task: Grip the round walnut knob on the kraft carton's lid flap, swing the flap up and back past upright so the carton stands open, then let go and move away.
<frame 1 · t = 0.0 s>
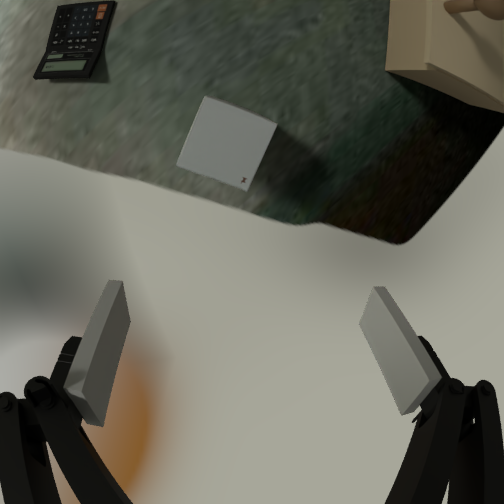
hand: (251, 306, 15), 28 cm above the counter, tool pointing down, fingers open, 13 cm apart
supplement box: (226, 129, 37), on the counter
carton: (436, 40, 30), on the counter
calculator: (77, 40, 27), on the counter
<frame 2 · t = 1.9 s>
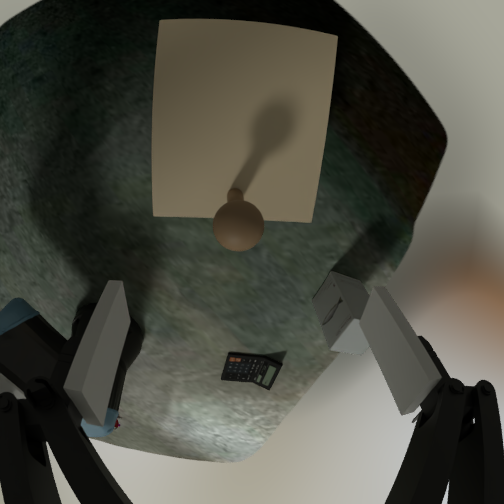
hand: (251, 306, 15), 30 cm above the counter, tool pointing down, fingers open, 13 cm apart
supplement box: (335, 289, 54), on the counter
calculator: (250, 366, 64), on the counter
flap: (243, 124, 22), point 17 cm above the counter, hinge at 0.0°
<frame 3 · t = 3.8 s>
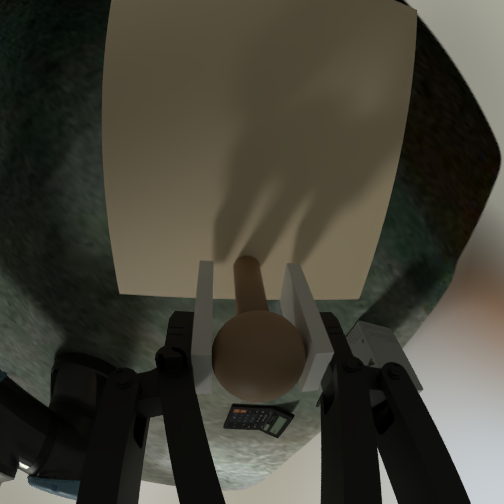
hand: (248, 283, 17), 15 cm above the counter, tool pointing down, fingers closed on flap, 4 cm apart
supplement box: (361, 339, 43), on the counter
calculator: (256, 415, 52), on the counter
flap: (270, 158, 11), point 17 cm above the counter, hinge at 0.0°, touching gripper
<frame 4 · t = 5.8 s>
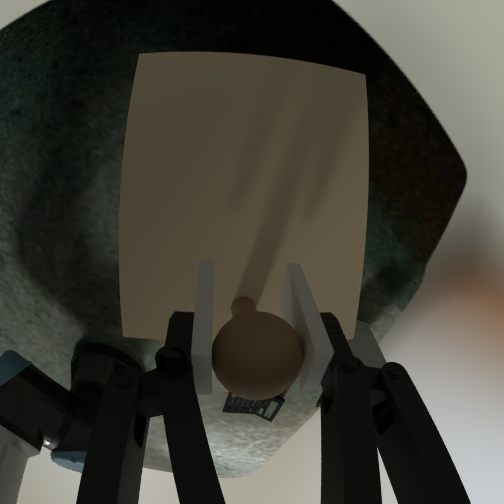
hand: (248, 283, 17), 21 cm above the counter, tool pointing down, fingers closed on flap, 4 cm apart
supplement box: (341, 331, 51), on the counter
calculator: (252, 400, 61), on the counter
flap: (257, 186, 15), point 21 cm above the counter, hinge at 23.3°, touching gripper
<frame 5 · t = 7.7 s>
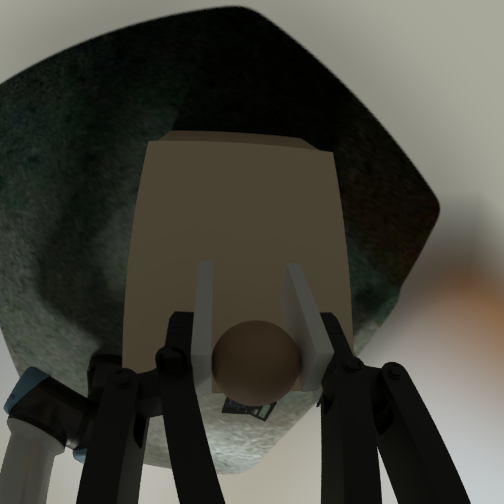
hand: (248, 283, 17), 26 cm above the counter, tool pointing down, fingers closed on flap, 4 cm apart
carton: (231, 197, 41), on the counter
calculator: (247, 402, 68), on the counter
flap: (247, 232, 18), point 23 cm above the counter, hinge at 48.3°, touching gripper
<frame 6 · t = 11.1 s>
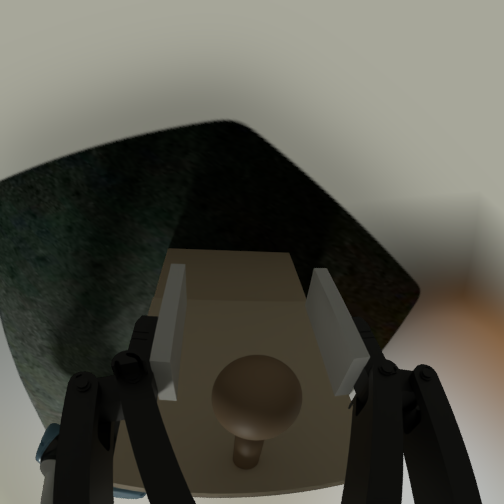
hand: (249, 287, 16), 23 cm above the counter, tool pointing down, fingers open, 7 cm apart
carton: (226, 301, 46), on the counter
flap: (241, 336, 20), point 22 cm above the counter, hinge at 94.0°
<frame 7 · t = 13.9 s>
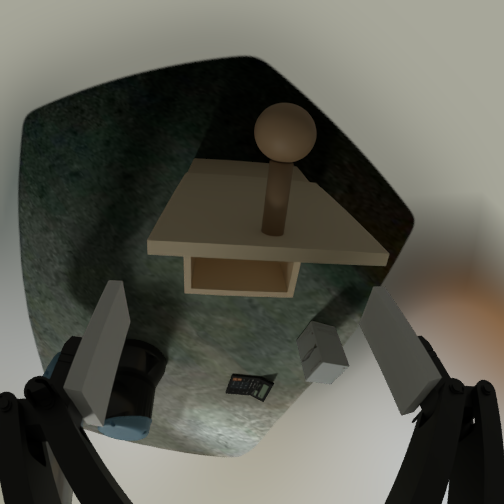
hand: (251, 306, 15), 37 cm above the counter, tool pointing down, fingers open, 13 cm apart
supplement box: (315, 332, 70), on the counter
carton: (241, 211, 52), on the counter
calculator: (248, 383, 80), on the counter
flap: (265, 158, 26), point 22 cm above the counter, hinge at 94.0°
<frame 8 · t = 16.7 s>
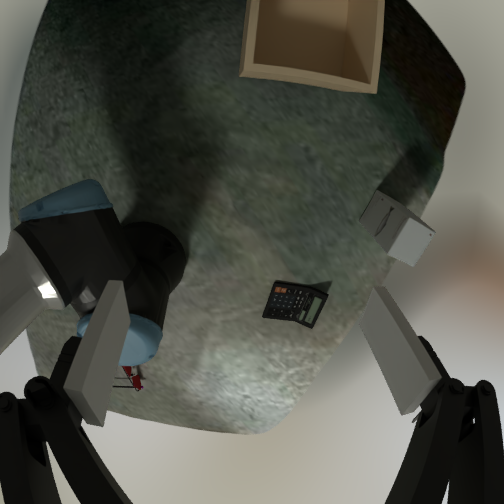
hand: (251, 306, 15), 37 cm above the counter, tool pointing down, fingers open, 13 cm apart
glasses: (110, 365, 71), on the counter
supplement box: (379, 211, 54), on the counter
carton: (298, 31, 37), on the counter
calculator: (293, 301, 64), on the counter
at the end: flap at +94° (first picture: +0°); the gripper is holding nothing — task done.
